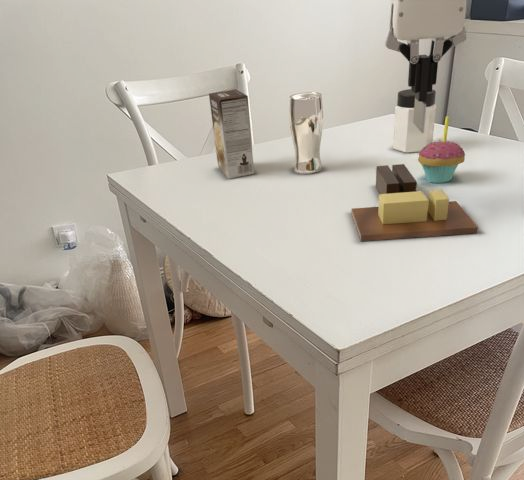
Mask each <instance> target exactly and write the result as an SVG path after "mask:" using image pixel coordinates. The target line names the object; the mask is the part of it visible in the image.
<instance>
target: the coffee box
mask: <svg viewBox="0 0 524 480" xmlns="http://www.w3.org/2000/svg"><path fill="white" fill-rule="evenodd" d="M208 97H209V107H210V113H211V122H212V129H213V137H214V145H215V146H214V147H215V153H216V161H217V168H218V170H219V171H220V172H222V174H224V176H225V177H226V178H227V179H229V180H230V179H234V178H239V177H246V176H252V175H254V174H255V169H254V167H255V166H254V155H253V145H252V132H251V117H250V108H249V107H250V106H249V96H248V95H247V94H245V93H243V92H242V91H241V90H239V89H230V90H229V89H228V90H222V91H216V92H211V93H208Z"/></svg>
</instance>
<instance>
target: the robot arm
mask: <svg viewBox="0 0 524 480" xmlns="http://www.w3.org/2000/svg"><path fill="white" fill-rule="evenodd" d="M466 14H467V0H390V12H389V23H388V25H389V26H388V29H389V30H388V34H387V37H386V40H385V42H384V46H385V48H387V50H392V51H395V52H398V53H401V55H402V56H403V57H404V58H405V59H406V60H407V61H408V77H407V86H408V87H409V88H410V89H411V90H412V91H413V92H414V93H418V92H419V90H420V77H421V64H420V59H419V55H420V40H429V39H431V40H430V47H429V54H428V56H429V57H430V67H429V79H428V90H427V92H432V90H433V85H434V86H435V85H436V84H437V77H438V67H439V62H440V61H441V60H442V58H443V57H444V55H445V54H446V53H447V52H448V51H449V50H450V49H451V48H453V47H456V46H458V45H461V44H463V43H464V42H466V41H467V33H466V29H465V22H466ZM398 40H399V41H398ZM402 41H406V43H405V42H402Z"/></svg>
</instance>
